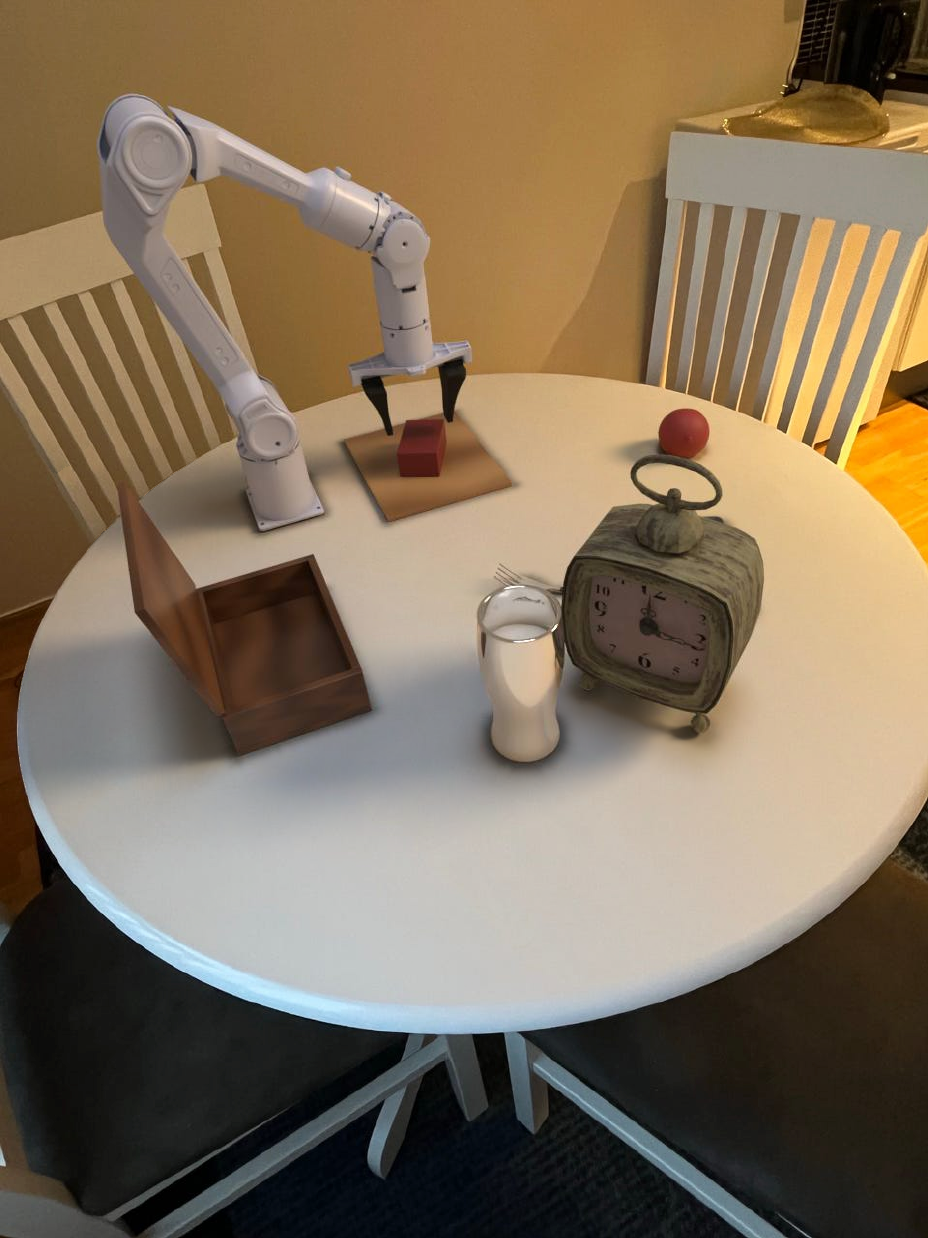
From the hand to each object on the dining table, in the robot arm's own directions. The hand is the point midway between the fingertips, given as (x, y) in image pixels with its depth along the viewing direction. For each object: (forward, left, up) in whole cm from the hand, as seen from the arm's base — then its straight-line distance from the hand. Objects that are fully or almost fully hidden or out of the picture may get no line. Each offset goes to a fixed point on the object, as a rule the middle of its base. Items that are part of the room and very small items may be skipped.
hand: (418, 425), depth 104 cm
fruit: (+14, +30, -6) cm, 33 cm away
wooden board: (0, 0, -6) cm, 6 cm away
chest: (+28, -24, -6) cm, 38 cm away
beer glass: (+46, -6, -6) cm, 47 cm away
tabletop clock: (+46, +7, -6) cm, 47 cm away
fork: (+31, +6, -6) cm, 32 cm away
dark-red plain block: (0, 0, -5) cm, 5 cm away
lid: (+28, -32, +7) cm, 43 cm away
